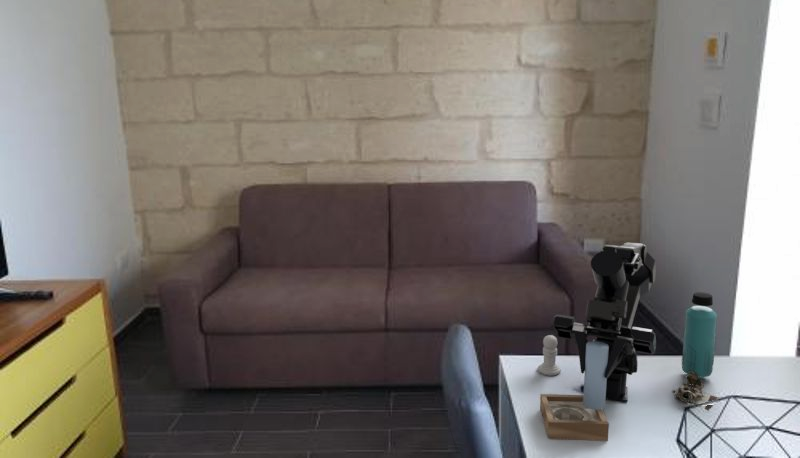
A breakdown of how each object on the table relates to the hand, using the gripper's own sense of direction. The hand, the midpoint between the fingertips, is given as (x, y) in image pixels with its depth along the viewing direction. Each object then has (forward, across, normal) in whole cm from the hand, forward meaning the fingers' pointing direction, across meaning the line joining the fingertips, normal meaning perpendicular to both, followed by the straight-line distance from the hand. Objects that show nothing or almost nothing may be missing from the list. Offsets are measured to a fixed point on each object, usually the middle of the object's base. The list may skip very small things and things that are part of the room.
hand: (593, 375), depth 112 cm
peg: (+4, 0, +6) cm, 7 cm away
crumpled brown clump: (-8, +15, +26) cm, 31 cm away
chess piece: (-8, -15, +26) cm, 31 cm away
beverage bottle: (-17, +15, +35) cm, 41 cm away
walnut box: (+7, -4, +11) cm, 13 cm away
